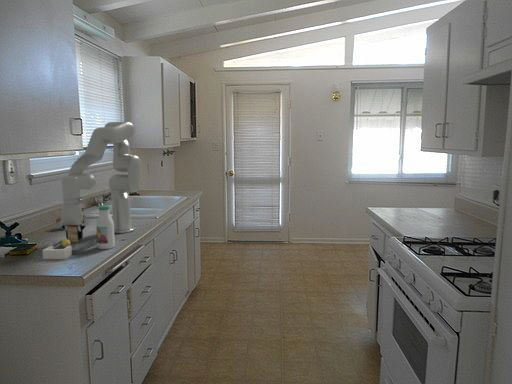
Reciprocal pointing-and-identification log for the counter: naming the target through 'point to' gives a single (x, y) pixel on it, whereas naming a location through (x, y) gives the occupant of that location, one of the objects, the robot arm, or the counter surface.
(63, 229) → the cupcake
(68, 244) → the ball
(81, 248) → the deck
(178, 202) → the counter surface
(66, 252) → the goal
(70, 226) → the slider
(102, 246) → the milk bottle
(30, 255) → the counter surface
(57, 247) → the rails
